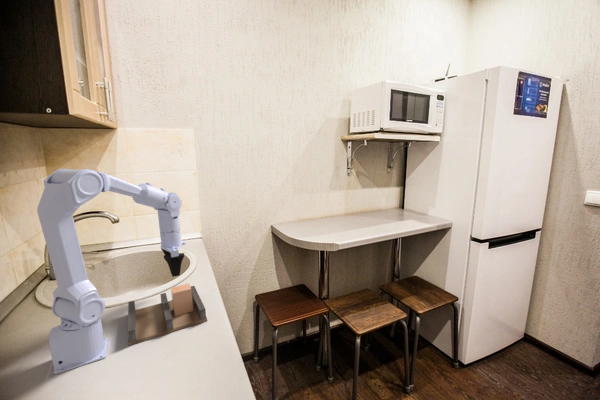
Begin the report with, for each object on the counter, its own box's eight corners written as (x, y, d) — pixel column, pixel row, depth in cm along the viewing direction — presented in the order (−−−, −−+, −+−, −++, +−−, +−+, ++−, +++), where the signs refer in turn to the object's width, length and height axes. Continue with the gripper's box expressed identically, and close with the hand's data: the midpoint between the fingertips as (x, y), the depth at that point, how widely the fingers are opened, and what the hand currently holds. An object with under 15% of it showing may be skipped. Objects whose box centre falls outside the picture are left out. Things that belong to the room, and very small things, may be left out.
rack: (128, 345, 69) (126, 331, 68) (129, 314, 83) (127, 302, 82) (207, 320, 79) (206, 308, 78) (195, 296, 92) (195, 285, 92)
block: (174, 316, 80) (172, 293, 79) (173, 309, 83) (170, 287, 82) (193, 310, 82) (191, 288, 81) (190, 304, 86) (188, 283, 84)
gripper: (187, 233, 83) (191, 276, 85) (180, 223, 95) (183, 261, 98) (161, 238, 79) (166, 282, 82) (157, 226, 92) (161, 265, 94)
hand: (174, 271), depth 89 cm, fingers open, 7 cm apart
